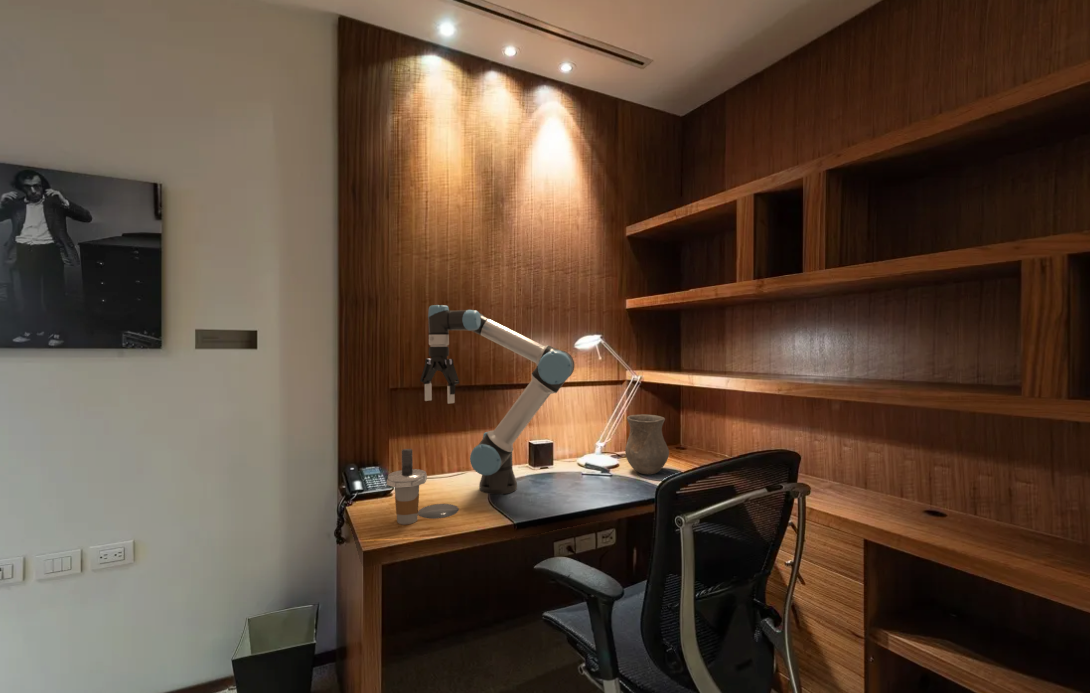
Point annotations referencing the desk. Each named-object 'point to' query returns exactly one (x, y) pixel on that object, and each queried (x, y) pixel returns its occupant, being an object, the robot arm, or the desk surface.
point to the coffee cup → (407, 504)
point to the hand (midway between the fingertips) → (439, 401)
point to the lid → (407, 473)
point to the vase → (646, 444)
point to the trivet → (438, 511)
